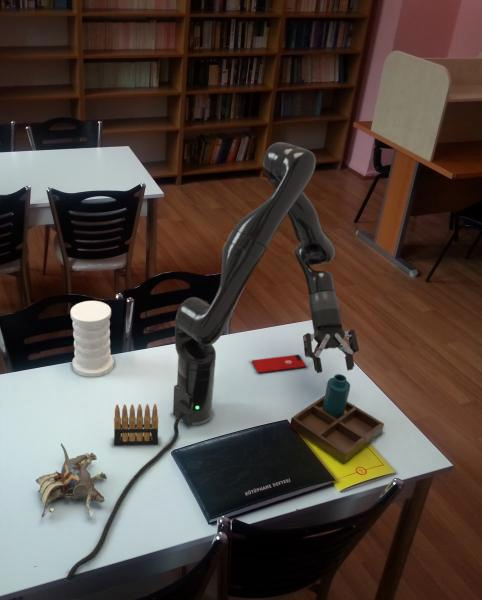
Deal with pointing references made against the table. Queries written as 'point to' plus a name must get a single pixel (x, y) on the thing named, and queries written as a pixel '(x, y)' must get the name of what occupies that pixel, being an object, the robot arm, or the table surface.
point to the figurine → (71, 482)
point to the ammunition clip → (135, 427)
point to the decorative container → (91, 338)
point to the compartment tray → (337, 429)
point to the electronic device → (278, 363)
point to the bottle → (336, 396)
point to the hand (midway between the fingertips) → (335, 371)
